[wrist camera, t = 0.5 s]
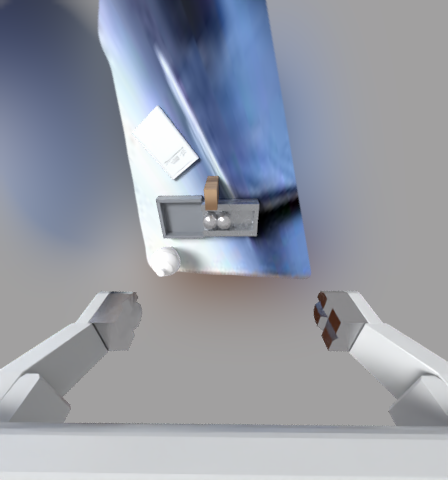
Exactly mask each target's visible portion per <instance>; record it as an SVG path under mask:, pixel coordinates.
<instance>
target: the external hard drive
mask: <svg viewBox="0 0 448 480" xmlns="http://www.w3.org/2000/svg"><path fill="white" fill-rule="evenodd" d="M132 134H133V136H134V137H135V138H136V139H137V140H138V141H139V142H140V143H141V145H142V146H143V147H144V148H145V149H146V150H147V151H148V152H149V153H150V155H151V156H152V157H153V158H154V159H155V160H156V161H157V162H158V164H159V165H160V166H161V167H162V168H163V169H164V170H165V171H166V173H167V174H168V175H169V176H170V177H171V178H172V179H173V180H174V179H175V178H176V177H177V176H179V175H180V174H181V173H182V172H183V171H184V170H186V169H187V168H188V167H189V166H190V165H191V164H193V163H194V162H195V161H196V160H197V159H198V158H199V157H198V156H197V154H196V153H195V152H194V150H193V149H192V148H191V146H190V145H189V144H188V143H187V141H186V140H185V139H184V137H183V136H182V135H181V133H180V132H179V131H178V130H177V128H176V127H175V126H174V124H173V123H172V122H171V121H170V119H169V118H168V117H167V115H166V114H165V113H164V112H163V110H162V109H161V108H160V106H157V107H156V108H155V109H154V110H153V111H152V112H151V113H150V114H149V115H148V116H147V117H146V118H145V119H144V120H143V121H142V122H141V124H140V125H139V126H138V127H137V128H136V129H135V130H134V131H133V132H132Z"/></svg>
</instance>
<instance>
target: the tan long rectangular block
mask: <svg viewBox="0 0 448 480" xmlns="http://www.w3.org/2000/svg"><path fill="white" fill-rule="evenodd" d="M204 197H205V210H217V209H218V199H219V179H218V176H208V178H207V181H206V184H205V188H204Z"/></svg>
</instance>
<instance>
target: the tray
mask: <svg viewBox="0 0 448 480" xmlns="http://www.w3.org/2000/svg"><path fill="white" fill-rule="evenodd" d="M156 203H157V208H158V213H159V218H160V223H161V228H162V233H163V237H164V238H204V236H203V229H204V225H203V211H201V203H202V196H158V198H157V199H156Z"/></svg>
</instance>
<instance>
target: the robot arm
mask: <svg viewBox="0 0 448 480" xmlns="http://www.w3.org/2000/svg"><path fill="white" fill-rule="evenodd" d="M137 299H138V296H137V294H136V292H114V291H112V292H106V291H105V292H104V291H101V292H99V293H97V294H96V296H95V297H94V298H93V300H92V301H91V302H90V304H89V305H88V306H87V308H86V309H85V311H84V312H83V313H82V315H81V316H80V317H79V319H78V320H77V321H76V323H71V324H70V325H68V326H67V327H65V328H63V329H62V330H60V331H59V332H57V333H56V334H54V335H53V336H51V337H49V338H48V339H46V340H45V341H43V342H42V343H40V344H39V345H37V346H36V347H34V348H32V349H31V350H30V351H28V352H27V353H25V354H23V355H22V356H20V357H19V358H17V359H15V360H14V361H12V362H11V363H9V364H8V365H6V366H5V367H3V368H2V369H0V480H448V362H447V361H446V360H444V359H442V358H441V357H439V356H438V355H436V354H435V353H433V352H431V351H430V350H428V349H427V348H425V347H423V346H422V345H420V344H419V343H417V342H415V341H413V340H412V339H411V338H409V337H408V336H406V335H404V334H403V333H401V332H400V331H398V330H396V329H395V328H393V327H392V326H390V325H389V324H383V323H382V321H381V320H380V319H379V317H378V316H377V315H376V313H375V312H374V311H373V310H372V309H371V307H370V306H369V304H368V303H367V302H366V300H365V299H364V298H363V297H362V295H361V294H360V293H359V292H357V291H321V292H320V293H319V294H318V300H319V302H318V303H316V304H315V306H314V318H315V322H316V324H317V326H318V327H319V328H320V329H321V330H323V332H322V338H323V340H324V342H325V345H326V347H327V349H328V351H349V353H350V354H351V355H352V356H353V357H354V358H355V359H356V360H357V361H358V362H359V363H361V364H362V365H363V367H365V368H366V369H367V370H368V371H369V372H370V373H371V374H372V375H373V376H374V377H375V378H376V379H377V380H378V381H379V382H380V383H381V384H382V385H383V386H384V387H385V388H386V389H387V390H388V391H389V392H390V393H391V394H392V395H393V396H394V397H395V398H396V399H397V401H396V402H395V403H394V404H393V405H392V406H391V407H390V408H389V411H388V412H389V413H390V415H391V417H392V419H393V421H394V423H395V424H396V426H354V425H351V426H350V425H348V426H347V425H252V424H251V425H250V424H247V425H246V424H147V423H144V424H143V423H64V421H65V419H66V417H67V415H68V413H69V411H70V410H71V407H70V404H69V403H68V402H67V401H66V400H64V398H63V396H64V395H65V394H66V393H67V392H68V391H69V390H70V389H71V388H72V387H73V386H74V385H75V384H76V383H77V382H78V381H79V380H80V379H81V378H82V377H83V376H84V375H85V374H86V373H87V372H88V371H89V370H90V369H91V368H92V367H93V366H94V365H95V364H96V363H97V362H98V361H99V360H100V359H101V358H102V357H103V356H104V355H105V354H106V353H107V352H108V351H117V350H128V349H129V347H130V345H131V342H132V340H133V338H134V332H133V330H134V329H136V328H137V327H138V326H139V324H140V321H141V317H142V308H141V305H140V304H139V303H138V302H136V301H137Z"/></svg>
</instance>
